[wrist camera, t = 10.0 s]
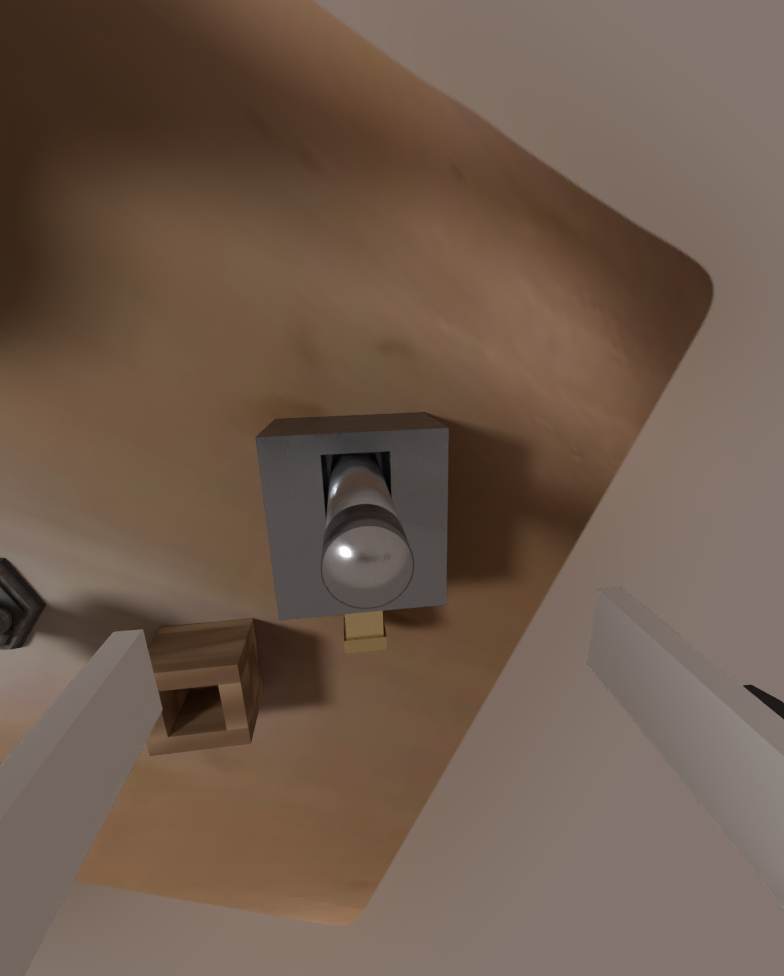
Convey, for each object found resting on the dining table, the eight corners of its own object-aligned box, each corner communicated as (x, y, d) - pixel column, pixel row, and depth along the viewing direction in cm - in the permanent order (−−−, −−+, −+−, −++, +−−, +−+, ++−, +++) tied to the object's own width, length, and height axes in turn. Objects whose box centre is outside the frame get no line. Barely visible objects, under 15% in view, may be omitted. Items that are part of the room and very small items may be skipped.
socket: (291, 565, 37) (279, 620, 29) (275, 418, 33) (255, 437, 25) (425, 555, 38) (446, 604, 30) (424, 412, 34) (448, 428, 26)
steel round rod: (329, 439, 33) (316, 528, 16) (376, 436, 33) (413, 521, 16) (332, 483, 34) (324, 612, 17) (377, 481, 34) (414, 604, 17)
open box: (160, 627, 37) (128, 675, 31) (252, 618, 38) (237, 664, 32) (177, 698, 39) (149, 755, 34) (263, 688, 40) (250, 743, 34)
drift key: (344, 628, 36) (345, 653, 33) (337, 533, 34) (337, 550, 31) (383, 625, 37) (386, 649, 34) (379, 530, 34) (382, 546, 31)
